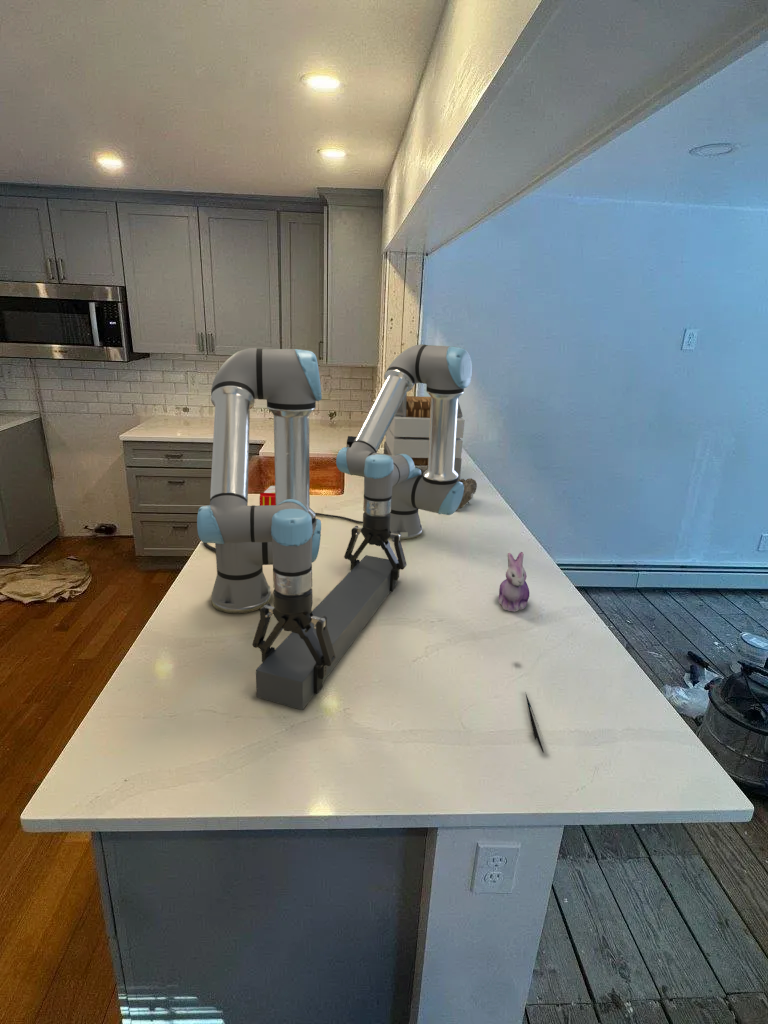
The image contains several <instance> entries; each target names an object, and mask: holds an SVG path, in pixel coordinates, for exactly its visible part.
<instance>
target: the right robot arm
mask: <svg viewBox="0 0 768 1024" xmlns="http://www.w3.org/2000/svg"><path fill="white" fill-rule="evenodd" d="M472 376H473V362H472V359H471V356H470V354H469V352H468V351H467V350H466V349H465V348H462V347H456V346H453V345H451V346H450V345H433V344H424V343H423V344H422V343H421V344H415V345H412V346H410V347H408V348H406V349H405V350H403V351H402V352H400V354H398V355H397V356H396V357H395V358H394V359H393V360H392V362H391V363H390V364H389V366H388V367H387V369H386V371H385V372H384V376H383V378H384V382H383V383H382V385H381V388H380V390H379V392H378V394H377V396H376V398H375V399H374V401H373V403H372V406H371V408H370V409H369V411H368V413H367V415H366V417H365V419H364V421H363V423H362V425H361V427H360V428H359V431H358V433H357V434H356V435H355V437H356V438H355V440H354V442H353V444H352V446H351V448H350V447H347V446H344V447H342V448H341V449H339V451H338V452H337V455H336V459H335V464H336V467H337V470H338V471H339V472H341V473H344V474H347V475H350V476H357V477H362V478H363V503H362V504H363V508H362V510H363V513H362V521H361V520H357V519H354V518H353V519H352V518H349V517H346V516H341V515H334V514H327V513H320V512H315V515H316V516H322V517H328V518H336V519H340V520H341V519H342V520H346V521H350V522H353V523H356V524H361V525H362V527H359V525H354V526H353V528H351V531H350V532H351V533H350V534H351V536H350V539H349V542H348V544H347V547H346V549H345V553H344V555H343V558H344V559H345V560H348V561H349V562H350V565H349V566H350V567H349V568H350V569H349V570H350V571H351V570H352V569H353V568H354V567H355V566H356V565H357V564H358V563H359V562H360V561H361V560H360V559H358V557H359V556H360V555H361V553H362V552H363V551H364V550H365V548H366V547H367V546H368V545H369V546H370V545H371V546H375V547H380V548H381V550H383V552H384V553H385V555H386V557H387V559H389V561H390V563H391V565H392V567H393V568H392V569H391V577H390V593H393V592H394V590H395V589H396V585H397V584H396V581H397V580H398V581H399V578H400V570H401V571H403V570H404V569H405V568H406V567H407V559H406V557H405V551H404V549H403V545H402V541H410V540H415V539H418V538H420V537H421V536H422V535H423V525H422V524H421V518H420V515H419V510H421V511H426V512H429V513H435V514H438V515H445V516H451V515H453V514H454V513H456V511H457V510H458V509H457V508H458V507H459V505H460V503H461V500H462V497H463V492H464V486H463V483H462V482H460V481H459V482H458V473H457V472H456V471H455V470H454V462H455V446H456V430H457V414H458V402H459V398H460V397H461V396H462V395H463V394H464V393H465V389H466V388H468V387H469V386H470V384H471V381H472V378H473V377H472ZM416 384H423V385H424V384H425V385H426V389H425V392H426V393H427V394H428V395H429V397H431V407H430V431H429V454H428V466H427V469H426V470H424V471H423V472H422V470H421V468H419V467H416V466H415V465H414V462H413V460H412V458H411V457H410V456H408V455H406V454H396V455H395V456H392V455H386V454H384V453H379V452H378V451H379V449H380V447H381V446H382V444H383V442H384V440H385V438H386V433H387V431H388V429H389V427H390V425H391V423H392V421H393V419H394V417H395V415H396V413H397V411H398V409H399V407H400V405H401V403H402V401H403V399H404V397H405V395H406V393H407V394H408V392H411V391H412V390H413V388H414V386H415V385H416ZM360 535H362V536H363V538H364V539H363V540H362V542H361V543H360V545H359V546H358V548H357V549H356V550H355V552H354V553H353V551H354V549H355V545H356V543H357V540H358V538H359V536H360ZM389 540H391V541H392V542H393V546H394V549H393V548H392V546H391V542H390V541H389ZM394 551H395V552H394ZM395 584H396V585H395Z"/></svg>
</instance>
